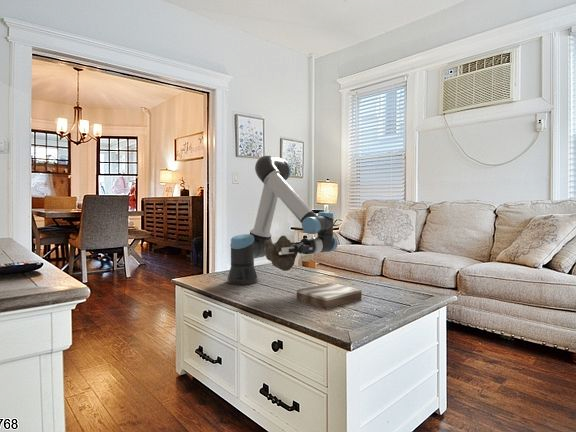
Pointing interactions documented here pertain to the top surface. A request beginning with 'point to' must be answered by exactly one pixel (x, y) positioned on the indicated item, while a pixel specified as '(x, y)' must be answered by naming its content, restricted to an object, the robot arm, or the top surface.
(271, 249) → the decorative stone
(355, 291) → the block
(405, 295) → the top surface
